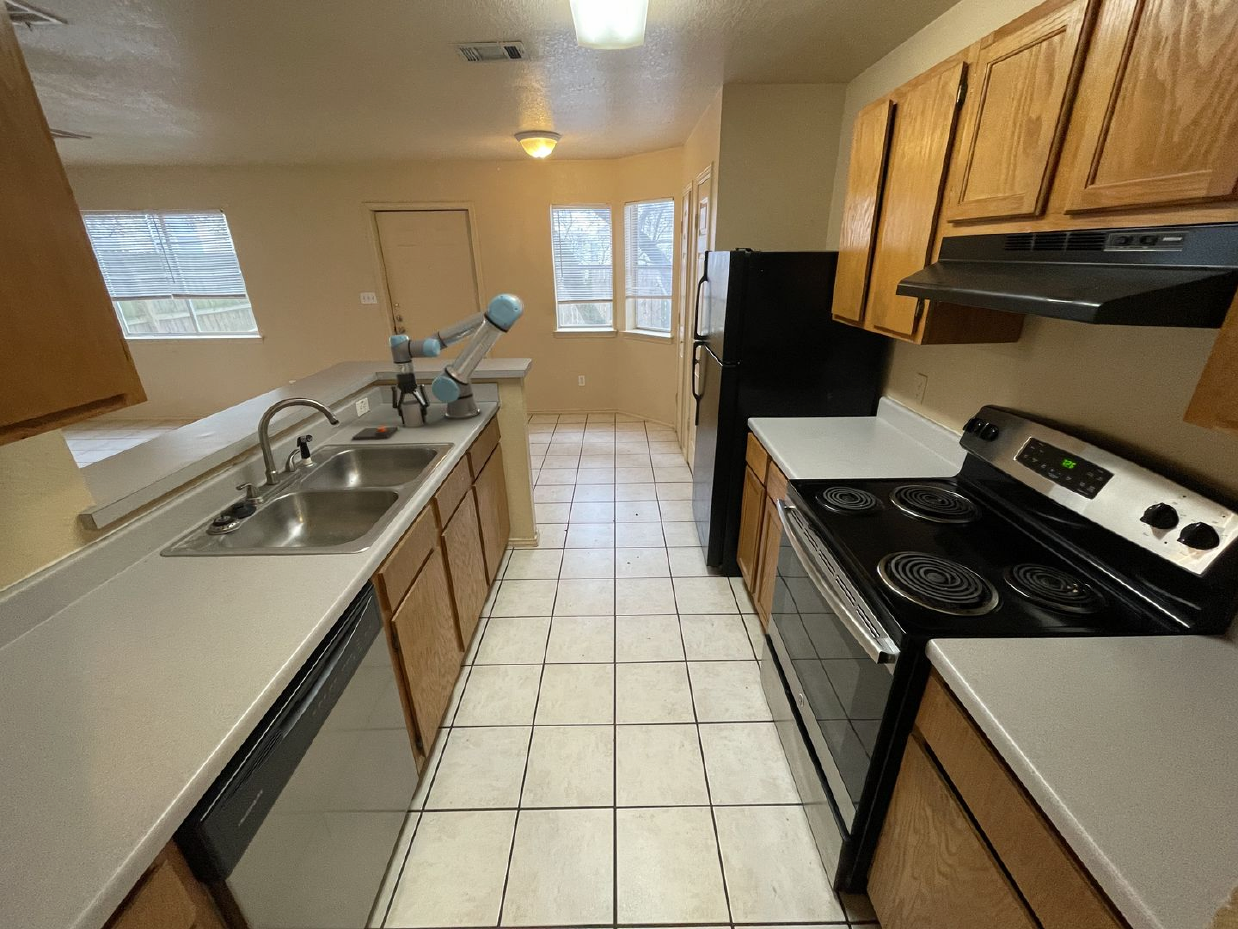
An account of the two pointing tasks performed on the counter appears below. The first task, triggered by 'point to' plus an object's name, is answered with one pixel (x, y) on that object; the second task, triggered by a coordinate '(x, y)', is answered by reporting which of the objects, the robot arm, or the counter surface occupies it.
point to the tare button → (381, 429)
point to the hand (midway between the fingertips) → (414, 422)
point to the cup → (412, 413)
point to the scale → (375, 433)
